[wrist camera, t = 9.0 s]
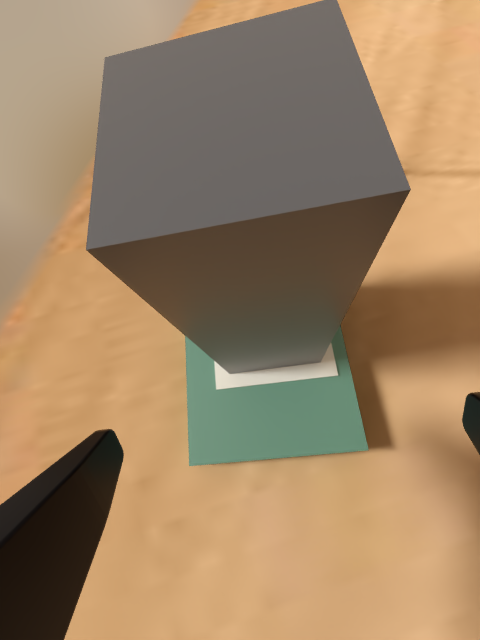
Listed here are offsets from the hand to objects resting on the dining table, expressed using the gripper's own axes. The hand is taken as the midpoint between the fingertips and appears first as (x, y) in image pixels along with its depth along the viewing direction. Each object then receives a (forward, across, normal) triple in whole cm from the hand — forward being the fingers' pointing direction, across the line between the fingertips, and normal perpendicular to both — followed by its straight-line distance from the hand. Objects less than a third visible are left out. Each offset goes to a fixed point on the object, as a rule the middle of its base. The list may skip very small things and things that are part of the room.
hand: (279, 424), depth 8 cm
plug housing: (+10, 0, +2) cm, 10 cm away
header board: (+10, +1, +3) cm, 11 cm away
